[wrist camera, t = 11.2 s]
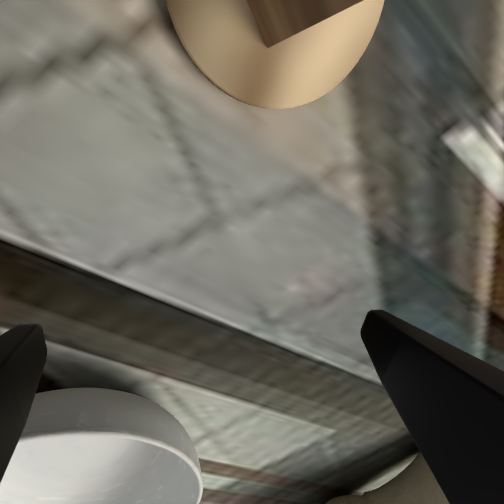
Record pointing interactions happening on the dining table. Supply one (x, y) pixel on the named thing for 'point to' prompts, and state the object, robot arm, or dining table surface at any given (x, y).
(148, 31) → the dining table surface
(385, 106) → the dining table surface
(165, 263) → the dining table surface
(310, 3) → the tan tall block
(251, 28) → the cork coaster
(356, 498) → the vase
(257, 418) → the dining table surface
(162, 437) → the serving bowl
